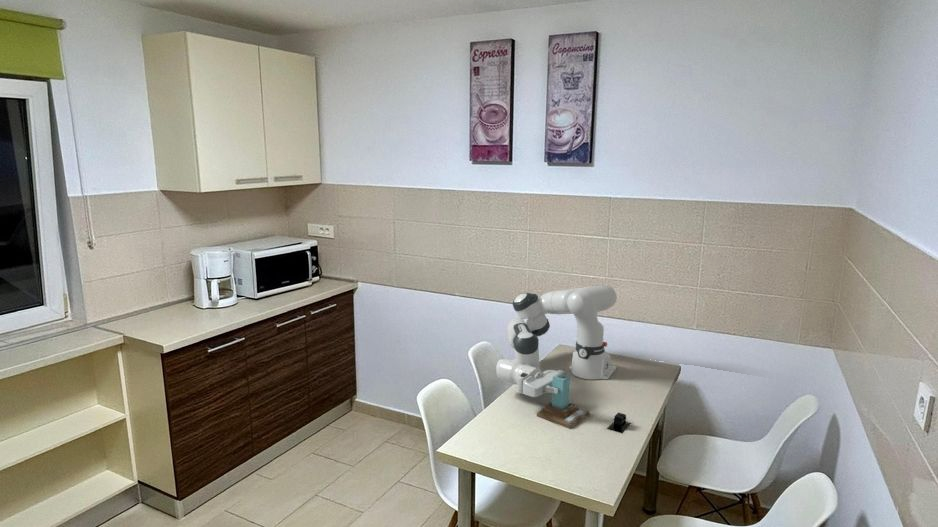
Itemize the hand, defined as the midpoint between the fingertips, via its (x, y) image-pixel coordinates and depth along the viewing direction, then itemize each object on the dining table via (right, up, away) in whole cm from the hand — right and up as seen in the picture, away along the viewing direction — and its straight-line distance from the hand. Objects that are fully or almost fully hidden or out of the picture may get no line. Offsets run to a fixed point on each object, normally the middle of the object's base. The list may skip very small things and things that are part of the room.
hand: (562, 388), depth 197 cm
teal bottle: (-1, -7, +2) cm, 8 cm away
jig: (0, -10, +2) cm, 10 cm away
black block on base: (+19, -13, -6) cm, 24 cm away
